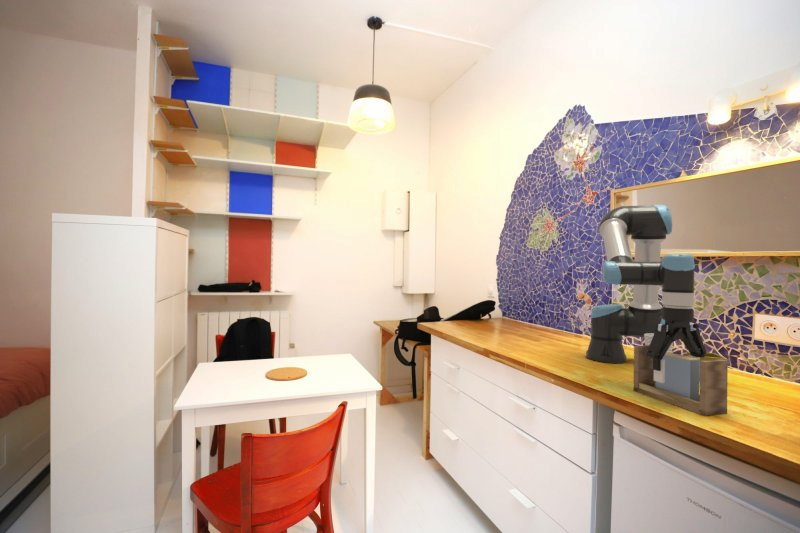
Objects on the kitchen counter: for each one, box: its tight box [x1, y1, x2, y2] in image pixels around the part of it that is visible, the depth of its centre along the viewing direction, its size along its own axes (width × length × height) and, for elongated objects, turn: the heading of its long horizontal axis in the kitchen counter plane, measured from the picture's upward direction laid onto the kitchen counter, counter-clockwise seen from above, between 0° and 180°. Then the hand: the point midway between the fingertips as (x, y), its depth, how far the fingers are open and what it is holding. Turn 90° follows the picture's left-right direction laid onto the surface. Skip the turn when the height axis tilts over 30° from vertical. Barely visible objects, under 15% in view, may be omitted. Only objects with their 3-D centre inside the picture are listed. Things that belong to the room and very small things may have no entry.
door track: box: [633, 344, 729, 417], centre depth 108 cm, size 8×21×14 cm, turn 17°
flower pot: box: [686, 350, 728, 361], centre depth 130 cm, size 9×9×9 cm
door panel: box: [656, 352, 700, 402], centre depth 108 cm, size 4×10×12 cm, turn 17°
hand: (676, 380), depth 108 cm, fingers open, 13 cm apart
